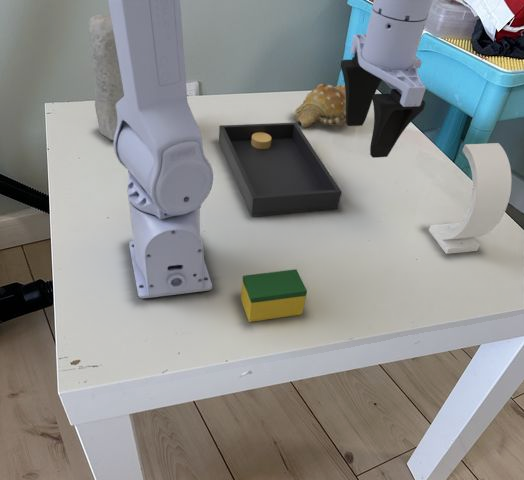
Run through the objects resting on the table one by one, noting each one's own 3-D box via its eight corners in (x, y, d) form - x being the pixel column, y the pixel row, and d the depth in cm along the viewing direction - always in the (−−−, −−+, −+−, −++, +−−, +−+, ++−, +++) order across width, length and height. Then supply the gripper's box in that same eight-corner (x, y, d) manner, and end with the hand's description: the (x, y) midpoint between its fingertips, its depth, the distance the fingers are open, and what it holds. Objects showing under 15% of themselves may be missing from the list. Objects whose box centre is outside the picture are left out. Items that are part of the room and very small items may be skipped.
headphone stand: (458, 227, 68) (498, 143, 59) (481, 256, 64) (528, 170, 55) (428, 230, 67) (464, 144, 58) (449, 259, 63) (492, 172, 54)
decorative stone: (155, 113, 81) (147, 4, 69) (176, 128, 78) (172, 18, 67) (93, 129, 75) (75, 15, 64) (114, 146, 73) (99, 30, 61)
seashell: (313, 124, 90) (349, 72, 85) (341, 152, 87) (379, 100, 82) (283, 110, 83) (319, 52, 78) (311, 140, 80) (352, 82, 75)
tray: (337, 209, 68) (341, 191, 66) (251, 216, 65) (253, 198, 63) (293, 139, 80) (296, 122, 77) (218, 142, 76) (219, 125, 74)
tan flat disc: (273, 149, 76) (273, 141, 75) (253, 149, 75) (254, 142, 74) (267, 139, 78) (268, 131, 77) (249, 140, 77) (249, 132, 76)
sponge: (292, 292, 56) (296, 268, 54) (302, 314, 54) (307, 291, 52) (240, 299, 55) (242, 275, 52) (248, 322, 53) (251, 298, 50)
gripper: (469, 38, 48) (421, 169, 58) (402, -10, 57) (371, 111, 67) (404, 38, 46) (367, 172, 57) (345, -11, 55) (322, 113, 65)
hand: (366, 139), depth 62 cm, fingers open, 7 cm apart
